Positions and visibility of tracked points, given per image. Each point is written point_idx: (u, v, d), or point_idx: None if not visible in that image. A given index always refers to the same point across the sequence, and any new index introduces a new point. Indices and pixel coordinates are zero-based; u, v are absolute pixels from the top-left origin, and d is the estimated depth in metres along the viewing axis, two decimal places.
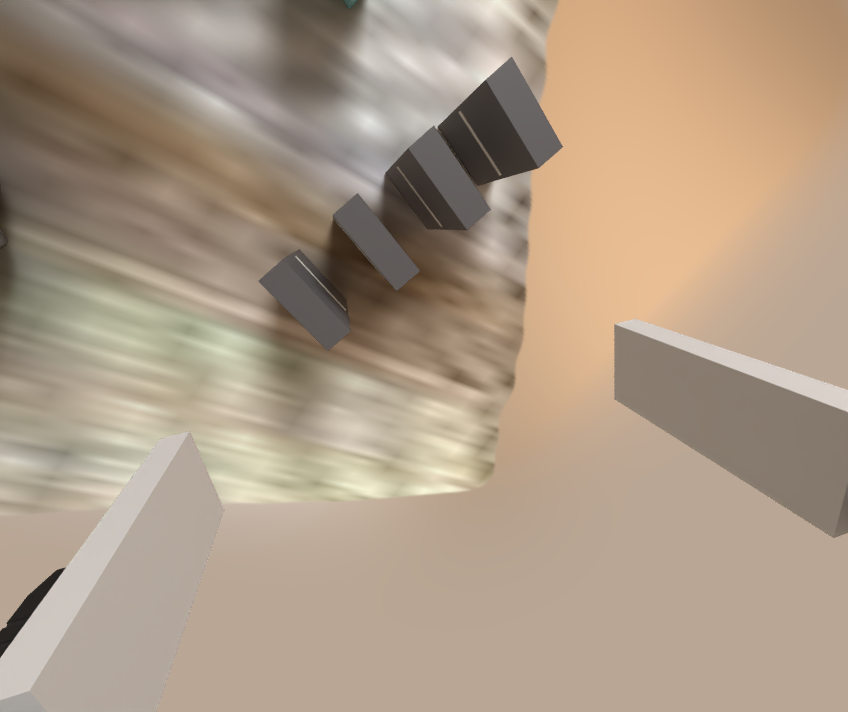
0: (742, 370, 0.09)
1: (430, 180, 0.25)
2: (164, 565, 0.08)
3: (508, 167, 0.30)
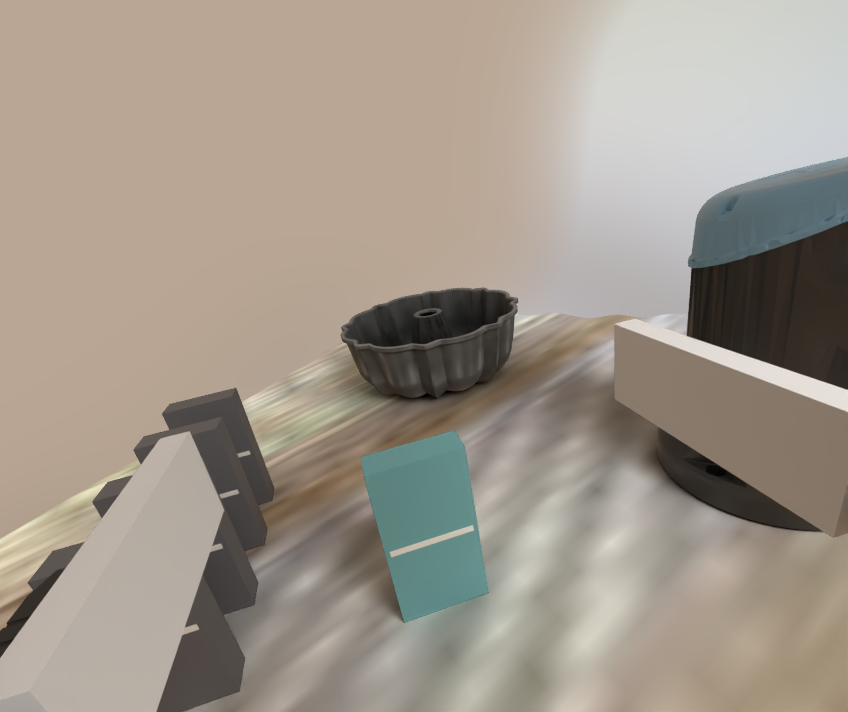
0: (742, 370, 0.09)
1: None
2: (164, 565, 0.08)
3: None
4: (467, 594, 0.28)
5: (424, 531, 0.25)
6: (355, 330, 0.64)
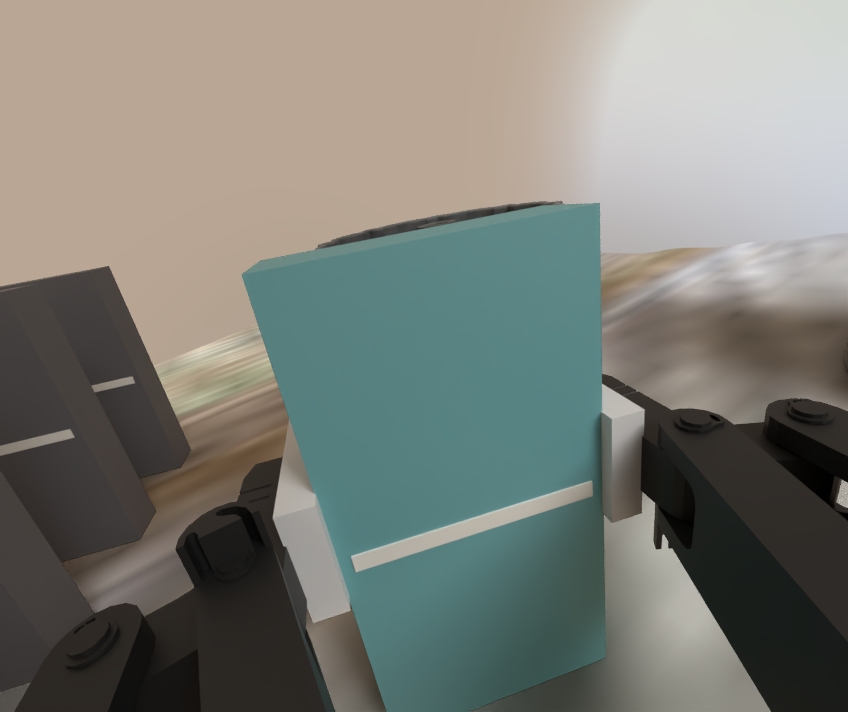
0: None
1: None
2: None
3: None
4: (558, 663, 0.11)
5: (457, 493, 0.08)
6: None
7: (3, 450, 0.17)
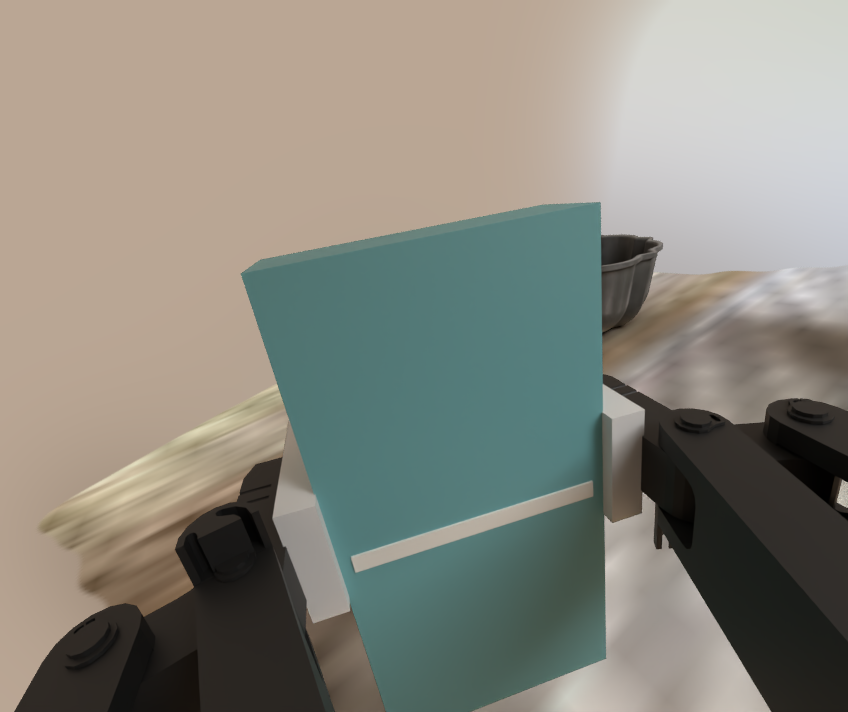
0: None
1: None
2: None
3: None
4: (558, 664, 0.11)
5: (457, 493, 0.08)
6: None
7: None
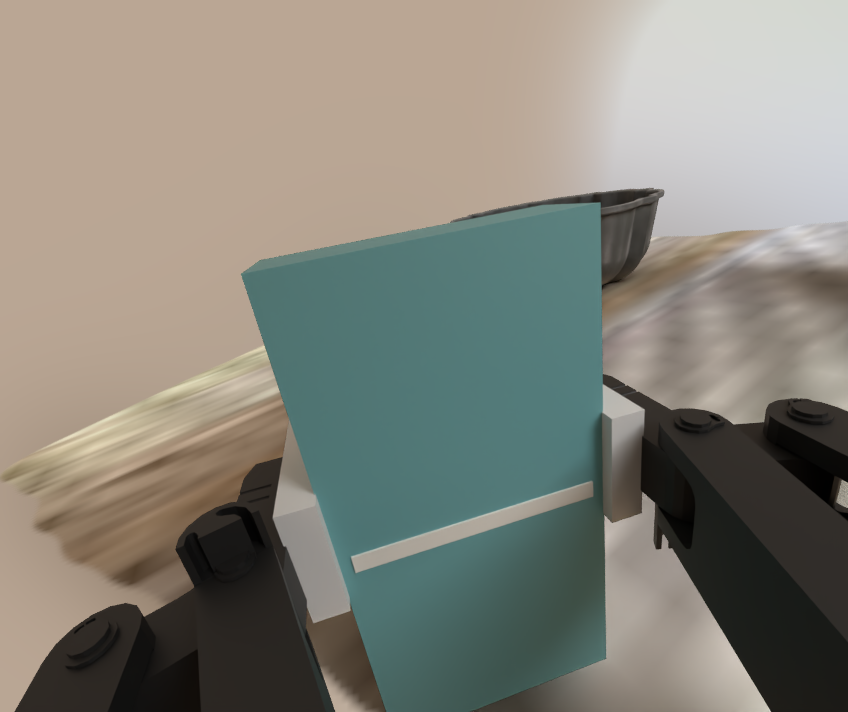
0: None
1: None
2: None
3: None
4: (558, 663, 0.11)
5: (457, 494, 0.08)
6: None
7: None
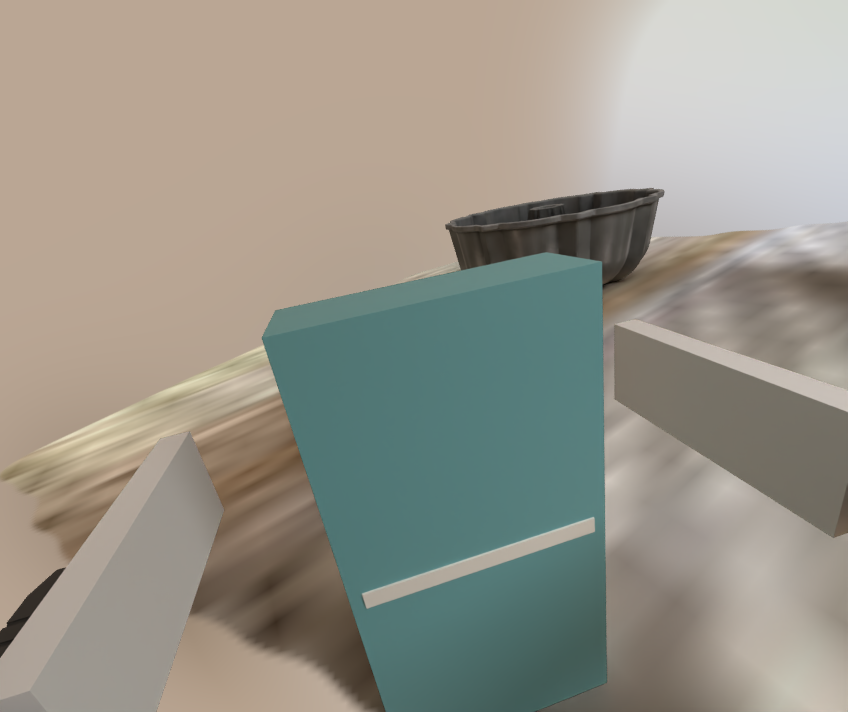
0: (742, 370, 0.09)
1: None
2: (163, 565, 0.08)
3: None
4: (560, 688, 0.11)
5: (464, 533, 0.09)
6: None
7: None
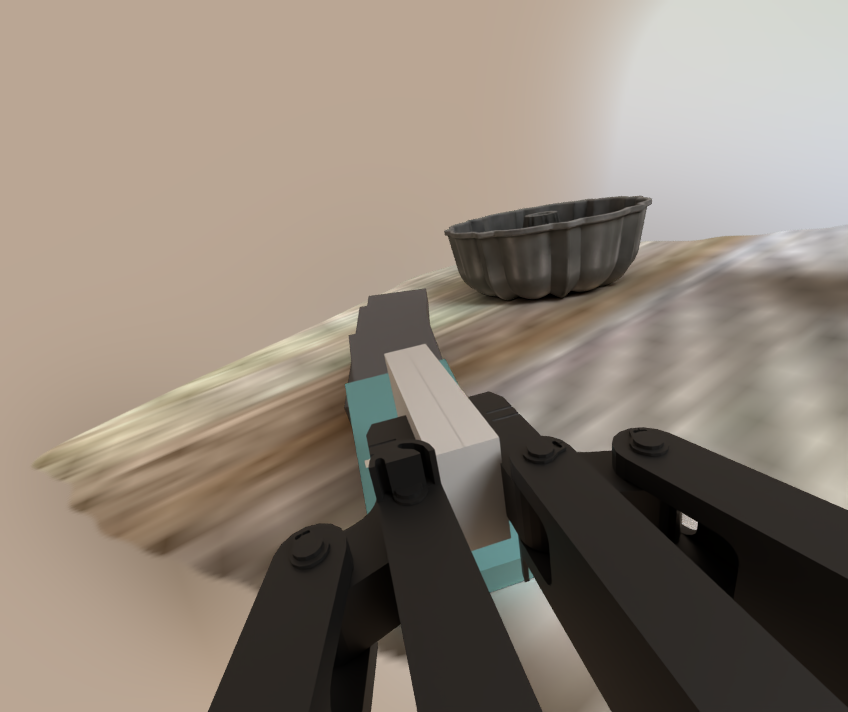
0: (440, 398, 0.10)
1: None
2: None
3: None
4: (501, 548, 0.15)
5: None
6: None
7: None
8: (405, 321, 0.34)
